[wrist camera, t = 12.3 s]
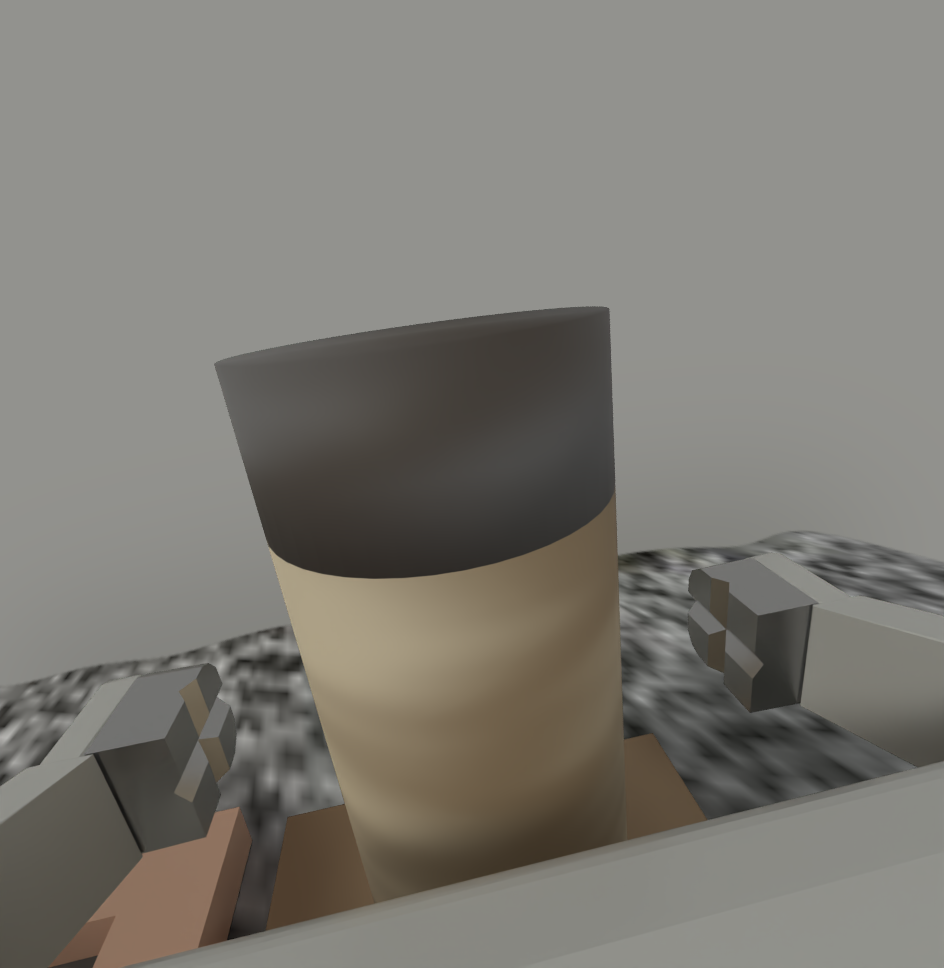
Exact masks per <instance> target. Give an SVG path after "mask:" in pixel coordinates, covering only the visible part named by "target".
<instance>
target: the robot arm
mask: <svg viewBox="0 0 944 968" xmlns="http://www.w3.org/2000/svg"><path fill="white" fill-rule="evenodd" d="M688 592H689V593H690V594H691V595H692V596H693V598H694V599H695V600H696V602H695V603H694V605H693V606H692V608H691V609H690V611H689V612H688V632H689V635H690V638H691V642H692V645H693V647H694V649H695V650H696V652H697V654H698V656H699V657H700V658H701V659H702V660H703V661H704V663H705V664H706V665H707V666H709V667H711V668H713V669H716V670H718V671H720V672H723V673H724V685H725V686H726V687H727V688H728V689H729V690H730V692H731V693H732V694H733V695H734V696H735V697H736V698H737V699H738V700H739V701H740V703H741V704H742V705H743V706H744V707H745V708H746V709H747V710H748V711H749V712H750V713H752V712H757V711H762V710H767V709H772V708H778V707H783V706H788V705H793V704H798V703H801V704H800V706H802V707H804V708H806V709H808V710H810V711H811V712H813V713H815V714H817V715H819V716H821V717H823V718H825V719H827V720H829V721H831V722H832V723H834V724H836V725H838V726H840V727H842V728H844V729H846V730H848V731H850V732H852V733H853V734H855V735H857V736H859V737H861V738H863V739H865V740H867V741H869V742H871V743H873V744H874V745H876V746H878V747H880V748H882V749H884V750H886V751H888V752H890V753H892V754H894V755H896V756H897V757H899V758H901V759H903V760H905V761H907V762H909V763H911V764H913V765H915V766H917V767H918V768H914V769H910V770H906V771H902V772H898V773H894V774H890V775H886V776H882V777H878V778H874V779H870V780H866V781H862V782H858V783H854V784H850V785H846V786H842V787H838V788H834V789H830V790H826V791H822V792H818V793H814V794H810V795H806V796H802V797H798V798H794V799H790V800H786V801H782V802H778V803H774V804H770V805H766V806H762V807H758V808H754V809H750V810H746V811H742V812H738V813H734V814H730V815H726V816H722V817H718V818H714V819H710V820H706V821H702V822H698V823H694V824H690V825H686V826H682V827H678V828H674V829H670V830H666V831H662V832H658V833H654V834H650V835H646V836H642V837H638V838H634V839H630V840H626V841H622V842H618V843H614V844H610V845H606V846H602V847H598V848H594V849H590V850H586V851H582V852H578V853H574V854H570V855H566V856H562V857H558V858H554V859H550V860H546V861H542V862H538V863H534V864H530V865H527V866H523V867H519V868H515V869H511V870H507V871H503V872H499V873H495V874H491V875H487V876H483V877H479V878H475V879H471V880H467V881H463V882H459V883H455V884H451V885H447V886H443V887H439V888H435V889H431V890H427V891H423V892H419V893H415V894H411V895H407V896H403V897H399V898H395V899H391V900H387V901H383V902H379V903H375V904H371V905H367V906H363V907H359V908H355V909H351V910H347V911H343V912H339V913H335V914H331V915H327V916H323V917H319V918H315V919H311V920H307V921H303V922H299V923H295V924H291V925H287V926H283V927H279V928H275V929H271V930H267V931H263V932H259V933H255V934H251V935H247V936H243V937H239V938H235V939H231V940H227V941H223V942H220V943H216V944H212V945H208V946H204V947H200V948H196V949H192V950H188V951H184V952H180V953H176V954H172V955H168V956H164V957H160V958H156V959H152V960H148V961H144V962H140V963H136V964H132V965H128V966H124V967H120V968H944V616H942V615H938V614H934V613H930V612H926V611H922V610H918V609H913V608H909V607H905V606H901V605H897V604H893V603H889V602H885V601H881V600H877V599H873V598H868V597H864V596H855V597H850V596H849V595H847V594H846V593H844V592H842V591H841V590H839V589H837V588H836V587H834V586H833V585H831V584H829V583H828V582H826V581H824V580H823V579H821V578H819V577H818V576H816V575H815V574H813V573H811V572H810V571H808V570H806V569H805V568H803V567H801V566H800V565H798V564H797V563H795V562H793V561H792V560H790V559H788V558H787V557H785V556H783V555H782V554H778V553H767V554H763V555H759V556H754V557H750V558H746V559H743V560H738V561H734V562H729V563H724V564H720V565H715V566H710V567H706V568H701V569H696V570H692V572H691V575H690V577H689V587H688ZM221 686H222V682H221V679H220V677H219V674H218V672H217V669H216V667H215V666H213V665H211V664H209V663H206V664H200V665H194V666H188V667H183V668H177V669H171V670H165V671H159V672H154V673H148V674H144V675H136V676H131V677H126V678H121V679H116V680H111V681H109V682H107V683H105V684H102V685H101V686H100V688H99V689H98V690H97V691H96V693H95V694H94V695H93V697H92V698H91V699H90V701H89V702H88V703H87V704H86V706H85V707H84V708H83V710H82V711H81V712H80V713H79V715H78V716H77V717H76V719H75V720H74V721H73V723H72V724H71V725H70V726H69V728H68V729H67V730H66V732H65V733H64V734H63V736H62V737H61V738H60V739H59V741H58V742H57V743H56V745H55V746H54V747H53V748H52V750H51V751H50V752H49V754H48V755H47V756H46V758H45V759H44V760H43V761H42V763H41V764H40V765H38V766H34V767H29V768H26V769H25V770H23V771H22V772H21V773H19V774H18V775H16V776H15V777H13V778H12V779H10V780H9V781H7V782H6V783H5V784H3V785H2V786H0V968H48V967H49V966H50V964H51V963H52V962H53V961H54V960H55V959H56V957H57V956H58V955H59V954H60V953H61V952H62V950H63V949H64V948H65V947H66V946H67V945H68V944H69V942H70V941H71V940H72V939H73V938H74V937H75V935H76V934H77V933H78V932H79V931H80V930H81V928H82V927H83V926H84V925H85V924H86V923H87V921H88V920H89V919H90V918H91V917H92V916H93V914H94V913H95V912H96V911H97V910H98V909H99V907H100V906H101V905H102V904H103V903H104V902H105V900H106V899H107V898H108V897H109V896H110V895H111V894H112V892H113V891H114V890H115V889H116V888H117V887H118V885H119V884H120V883H121V882H122V881H123V880H124V878H125V877H126V876H127V875H128V874H129V873H130V871H131V870H132V869H133V868H134V867H135V866H136V864H137V863H138V862H139V861H140V860H141V859H142V857H143V855H142V854H143V853H147V852H151V851H155V850H158V849H162V848H166V847H170V846H174V845H178V844H182V843H186V842H189V841H193V840H197V839H201V838H205V837H206V836H207V834H208V831H209V828H210V825H211V822H212V819H213V816H214V813H215V811H216V808H217V805H218V802H219V799H220V796H221V794H220V791H219V788H218V786H217V783H216V782H217V781H218V780H219V779H220V778H221V777H222V776H223V775H224V774H225V773H226V772H227V771H228V770H229V769H230V767H231V764H232V761H233V757H234V754H235V746H236V734H237V733H236V726H235V719H234V716H233V713H232V710H231V707H230V706H229V705H228V704H226V703H225V702H223V701H222V700H220V699H219V698H217V695H218V693H219V691H220V688H221Z"/></svg>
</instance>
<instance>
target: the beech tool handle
mask: <svg viewBox="0 0 944 968" xmlns="http://www.w3.org/2000/svg"><path fill="white" fill-rule="evenodd" d="M214 365H215V368H216V372H217V375H218V378H219V382H220V385H221V388H222V392H223V395H224V399H225V402H226V405H227V409H228V412H229V416H230V419H231V422H232V426H233V429H234V432H235V435H236V439H237V442H238V446H239V449H240V453H241V456H242V459H243V463H244V466H245V469H246V473H247V476H248V479H249V483H250V486H251V490H252V493H253V496H254V499H255V503H256V506H257V510H258V513H259V516H260V520H261V523H262V527H263V530H264V533H265V537H266V540H267V543H268V547H269V550H270V553H271V557H272V560H273V563H274V567H275V570H276V574H277V577H278V580H279V584H280V587H281V590H282V594H283V597H284V601H285V604H286V607H287V610H288V614H289V617H290V620H291V624H292V627H293V631H294V634H295V638H296V641H297V644H298V648H299V651H300V654H301V658H302V661H303V664H304V668H305V671H306V675H307V678H308V681H309V685H310V688H311V691H312V695H313V698H314V701H315V705H316V708H317V712H318V715H319V718H320V722H321V725H322V728H323V732H324V735H325V738H326V742H327V745H328V749H329V752H330V755H331V759H332V762H333V765H334V769H335V772H336V775H337V779H338V782H339V786H340V789H341V792H342V796H343V799H344V802H345V806H346V809H347V812H348V816H349V819H350V823H351V826H352V829H353V833H354V836H355V839H356V843H357V846H358V849H359V853H360V856H361V860H362V863H363V866H364V870H365V873H366V876H367V880H368V883H369V886H370V890H371V893H372V897H373V900H374V903H379V902H383V901H387V900H391V899H395V898H399V897H403V896H407V895H411V894H415V893H419V892H423V891H427V890H431V889H435V888H439V887H443V886H447V885H451V884H455V883H459V882H463V881H467V880H471V879H475V878H479V877H483V876H487V875H491V874H495V873H499V872H503V871H507V870H511V869H515V868H519V867H523V866H527V865H530V864H534V863H538V862H542V861H546V860H550V859H554V858H558V857H562V856H566V855H570V854H574V853H578V852H582V851H586V850H590V849H594V848H598V847H602V846H606V845H610V844H614V843H618V842H622V841H626V840H627V822H626V792H625V762H624V732H623V702H622V672H621V642H620V612H619V583H618V553H617V525H616V524H617V523H616V495H615V466H614V465H615V463H614V436H613V434H614V433H613V405H612V404H613V403H612V373H611V344H610V314H609V308H607V307H570V308H557V309H544V310H533V311H523V312H513V313H504V314H495V315H487V316H478V317H470V318H462V319H454V320H446V321H438V322H431V323H424V324H416V325H409V326H402V327H395V328H389V329H382V330H376V331H368V332H362V333H356V334H350V335H343V336H338V337H331V338H325V339H319V340H313V341H307V342H302V343H296V344H291V345H286V346H280V347H276V348H270V349H266V350H261V351H255V352H251V353H247V354H242V355H238V356H234V357H231V358H227V359H223V360H221V361H218V362H216V363H215V364H214Z"/></svg>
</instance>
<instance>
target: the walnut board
mask: <svg viewBox="0 0 944 968" xmlns="http://www.w3.org/2000/svg"><path fill="white" fill-rule="evenodd" d="M624 762H625V792H626V822H627V840H630V839H634V838H638V837H642V836H646V835H650V834H654V833H658V832H662V831H666V830H670V829H674V828H678V827H682V826H686V825H690V824H694V823H698V822H702V821H706V820H707V818H706V817H705V815H704V814H703V812H702V810H701V809H700V807H699V806H698V804H697V803H696V801H695V799H694V798H693V796H692V795H691V793H690V791H689V790H688V788H687V787H686V785H685V783H684V782H683V780H682V779H681V777H680V776H679V774H678V772H677V771H676V769H675V768H674V766H673V764H672V763H671V761H670V760H669V758H668V756H667V755H666V753H665V752H664V750H663V749H662V747H661V745H660V744H659V742H658V741H657V739H656V737H655V736H654V734H653V733H651V734H647V735H642V736H638V737H634V738H629V739H625V740H624ZM371 904H375V903H374V900H373V897H372V893H371V890H370V886H369V883H368V880H367V876H366V873H365V870H364V866H363V863H362V860H361V856H360V853H359V849H358V846H357V843H356V839H355V836H354V833H353V829H352V826H351V823H350V819H349V816H348V812H347V809H346V806H345V804H343V805H338V806H334V807H330V808H325V809H321V810H317V811H312V812H308V813H304V814H299V815H295V816H291V817H288V818H287V823H286V828H285V834H284V839H283V844H282V849H281V854H280V859H279V864H278V870H277V875H276V880H275V885H274V890H273V895H272V900H271V905H270V911H269V916H268V921H267V926H266V931H267V930H271V929H275V928H279V927H283V926H287V925H291V924H295V923H299V922H303V921H307V920H311V919H315V918H319V917H323V916H327V915H331V914H335V913H339V912H343V911H347V910H351V909H355V908H359V907H363V906H367V905H371Z"/></svg>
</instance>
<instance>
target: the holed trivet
mask: <svg viewBox="0 0 944 968" xmlns="http://www.w3.org/2000/svg"><path fill="white" fill-rule="evenodd" d="M251 843H252V838H251V836H250V833H249V831H248V828H247V825H246V823H245V820H244V817H243V815H242V812H241V809H240V807H236V808H232V809H228V810H223V811H219V812H215V813H214V816H213V819H212V822H211V825H210V828H209V831H208V834H207V836H206V837H205V838H201V839H197V840H193V841H189V842H186V843H182V844H178V845H174V846H170V847H166V848H162V849H158V850H155V851H151V852H147V853H143V854H142V855H143V857H142V859H141V860H140V861H139V862H138V863H137V864H136V866H135V867H134V868H133V869H132V870H131V871H130V873H129V874H128V875H127V876H126V877H125V878H124V880H123V881H122V882H121V883H120V884H119V885H118V887H117V888H116V889H115V890H114V891H113V892H112V894H111V895H110V896H109V897H108V898H107V899H106V900H105V902H104V903H103V904H102V905H101V906H100V907H99V909H98V910H97V911H96V912H95V913H94V914H93V916H92V917H91V918H90V919H89V920H88V921H87V923H86V924H85V925H84V926H83V927H82V928H81V930H80V931H79V932H78V933H77V934H76V935H75V937H74V938H73V939H72V940H71V941H70V942H69V944H68V945H67V946H66V947H65V948H64V949H63V950H62V952H61V953H60V954H59V955H58V956H57V957H56V959H55V960H54V961H53V962H52V963H51V964H50V966H49V967H48V968H120V967H124V966H128V965H132V964H136V963H140V962H144V961H148V960H152V959H156V958H160V957H164V956H168V955H172V954H176V953H180V952H184V951H188V950H192V949H196V948H200V947H204V946H208V945H212V944H216V943H220V942H223V941H227V938H228V934H229V930H230V926H231V922H232V918H233V914H234V910H235V906H236V902H237V898H238V894H239V890H240V886H241V882H242V878H243V874H244V870H245V866H246V863H247V859H248V855H249V851H250V847H251Z"/></svg>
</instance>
